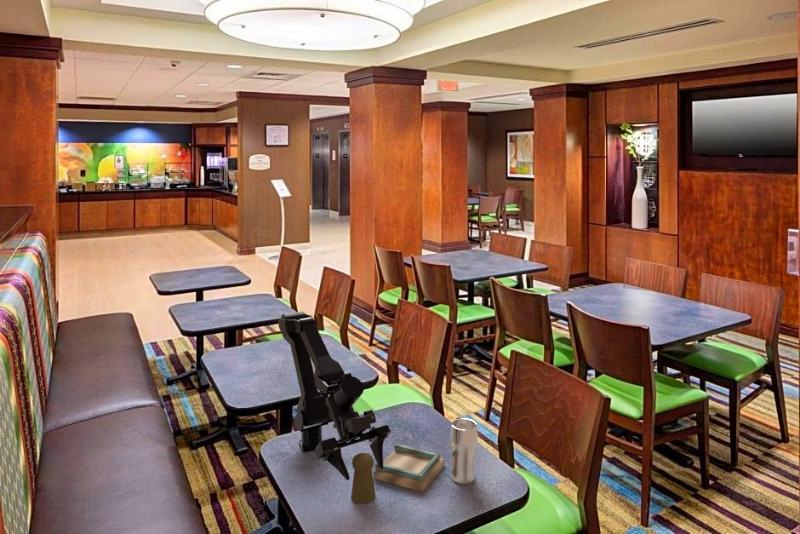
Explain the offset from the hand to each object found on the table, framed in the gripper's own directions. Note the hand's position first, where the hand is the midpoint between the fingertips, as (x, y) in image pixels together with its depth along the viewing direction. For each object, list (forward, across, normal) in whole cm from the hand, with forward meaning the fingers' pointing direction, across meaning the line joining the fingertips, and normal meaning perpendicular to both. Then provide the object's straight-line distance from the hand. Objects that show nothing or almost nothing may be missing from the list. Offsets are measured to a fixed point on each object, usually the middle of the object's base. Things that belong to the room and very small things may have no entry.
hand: (365, 474), depth 143 cm
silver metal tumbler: (+8, +26, +1) cm, 27 cm away
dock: (+1, +16, +8) cm, 18 cm away
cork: (+4, 0, +6) cm, 7 cm away
